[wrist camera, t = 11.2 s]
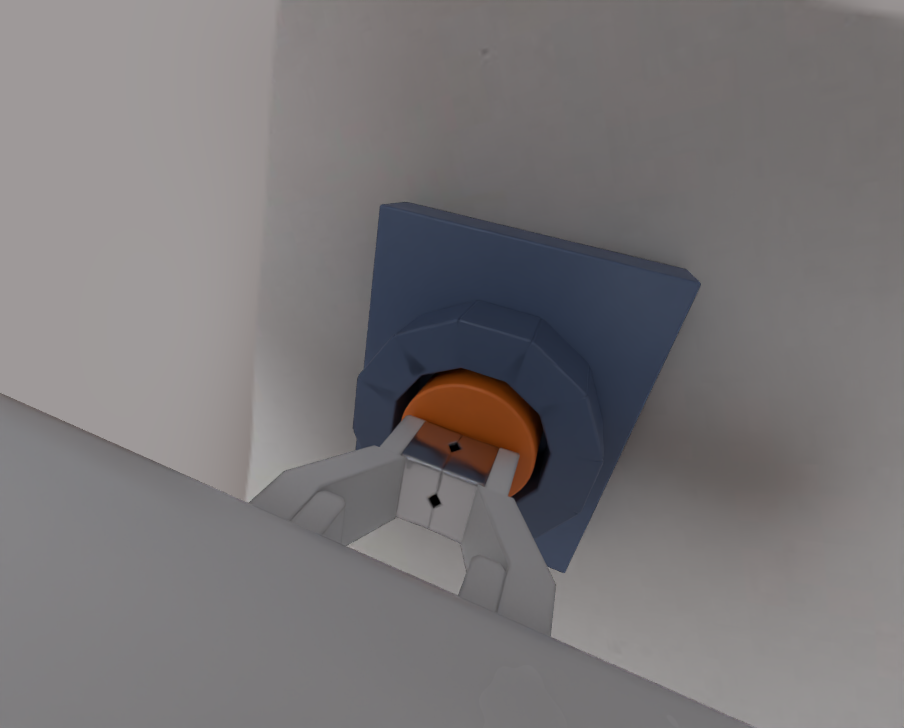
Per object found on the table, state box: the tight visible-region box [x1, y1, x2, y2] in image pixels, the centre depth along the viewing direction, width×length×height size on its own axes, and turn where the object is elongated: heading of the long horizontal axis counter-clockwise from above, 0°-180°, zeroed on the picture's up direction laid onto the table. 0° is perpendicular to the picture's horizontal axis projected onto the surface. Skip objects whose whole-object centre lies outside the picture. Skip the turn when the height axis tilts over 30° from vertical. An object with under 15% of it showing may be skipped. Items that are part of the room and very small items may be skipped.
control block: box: [353, 202, 701, 573], centre depth 12 cm, size 10×8×4 cm
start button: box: [401, 368, 543, 497], centre depth 11 cm, size 4×4×2 cm
